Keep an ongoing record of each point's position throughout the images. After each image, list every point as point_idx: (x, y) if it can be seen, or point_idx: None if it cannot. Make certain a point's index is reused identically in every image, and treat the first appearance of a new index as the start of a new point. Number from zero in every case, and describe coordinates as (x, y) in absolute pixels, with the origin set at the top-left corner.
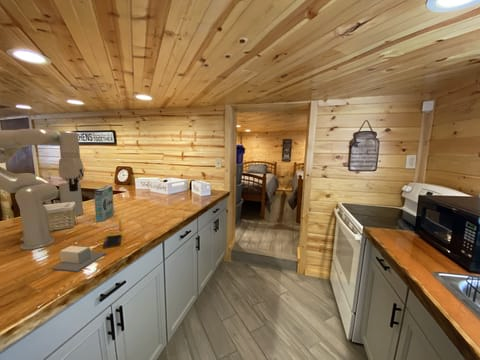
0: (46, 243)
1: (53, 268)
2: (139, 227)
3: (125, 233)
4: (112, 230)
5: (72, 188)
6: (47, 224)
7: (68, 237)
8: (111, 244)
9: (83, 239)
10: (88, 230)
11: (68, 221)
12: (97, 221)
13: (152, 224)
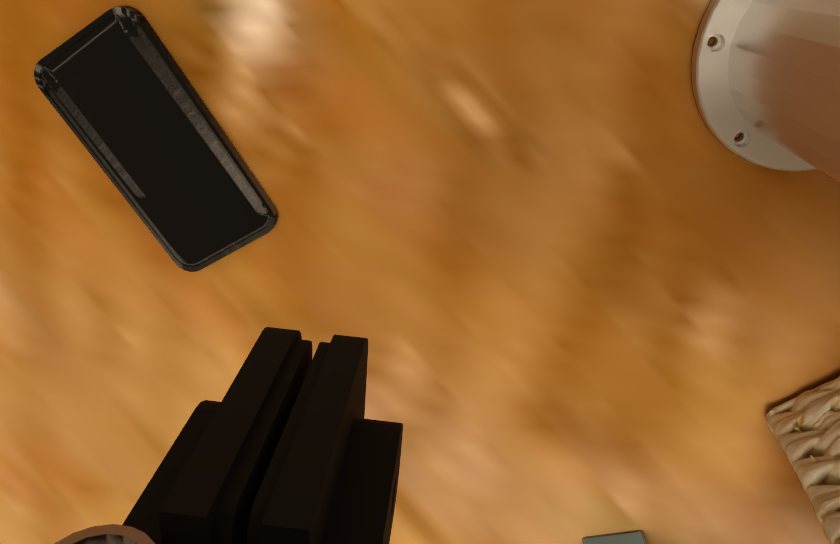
0: (715, 32)
1: None
2: (175, 429)
3: (194, 313)
4: None
5: (237, 397)
6: (809, 127)
7: (639, 214)
8: (108, 76)
9: (463, 180)
10: (571, 362)
11: (819, 443)
12: (630, 534)
13: (117, 486)
